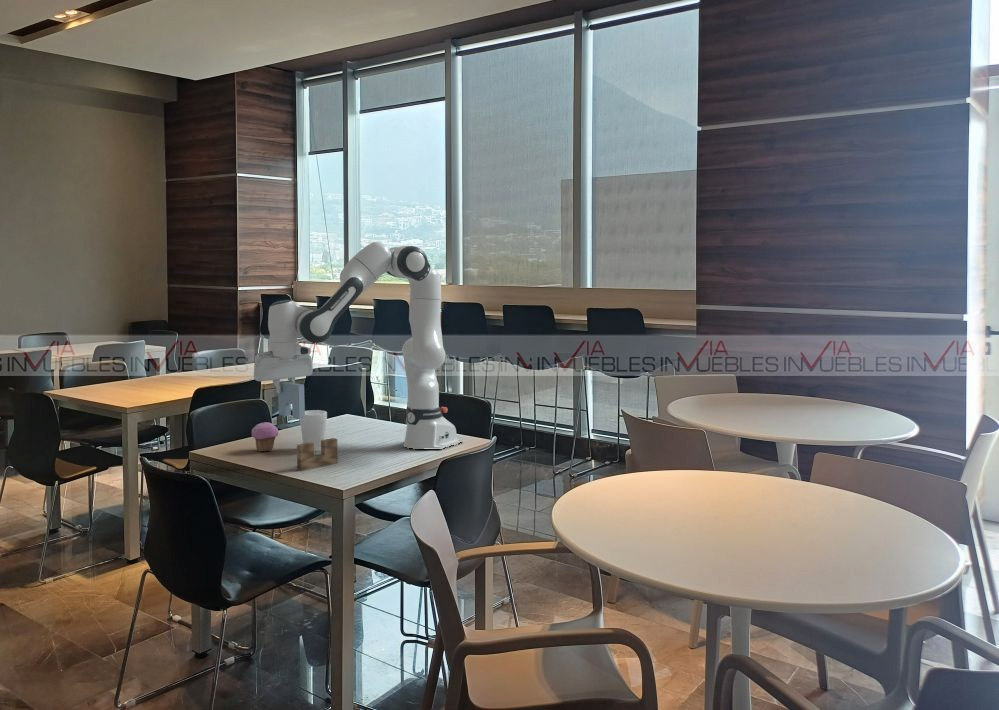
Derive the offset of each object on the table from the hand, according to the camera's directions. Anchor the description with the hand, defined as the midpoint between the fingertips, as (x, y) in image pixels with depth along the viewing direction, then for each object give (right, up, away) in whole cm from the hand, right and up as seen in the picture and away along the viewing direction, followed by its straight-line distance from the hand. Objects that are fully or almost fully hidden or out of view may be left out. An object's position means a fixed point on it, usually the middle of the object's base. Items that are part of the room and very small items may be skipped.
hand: (284, 392), depth 256 cm
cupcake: (-11, -21, +16) cm, 29 cm away
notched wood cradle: (+12, -24, -5) cm, 27 cm away
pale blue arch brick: (+3, -8, -2) cm, 9 cm away
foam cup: (+5, -21, +19) cm, 29 cm away
